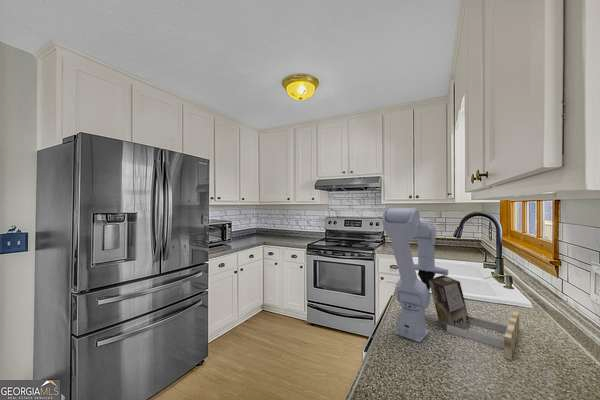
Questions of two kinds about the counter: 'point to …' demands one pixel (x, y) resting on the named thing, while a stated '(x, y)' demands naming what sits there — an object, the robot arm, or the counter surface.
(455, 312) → the coffee box
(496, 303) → the counter surface
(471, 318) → the rails
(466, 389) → the counter surface
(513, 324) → the back plate
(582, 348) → the counter surface
